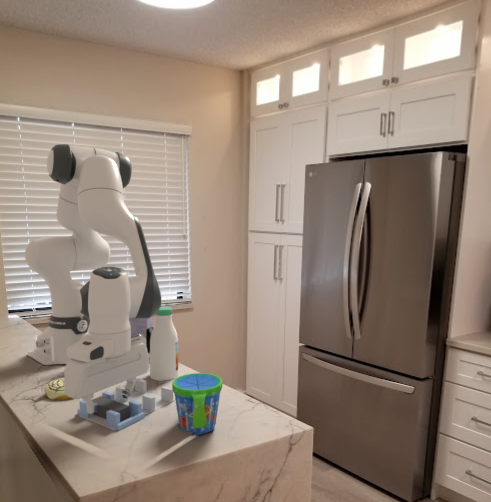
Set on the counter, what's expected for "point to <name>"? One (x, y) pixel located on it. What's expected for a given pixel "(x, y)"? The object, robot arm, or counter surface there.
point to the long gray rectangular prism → (111, 408)
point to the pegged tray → (138, 404)
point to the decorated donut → (56, 390)
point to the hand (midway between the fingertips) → (110, 404)
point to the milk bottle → (164, 347)
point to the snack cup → (197, 401)
